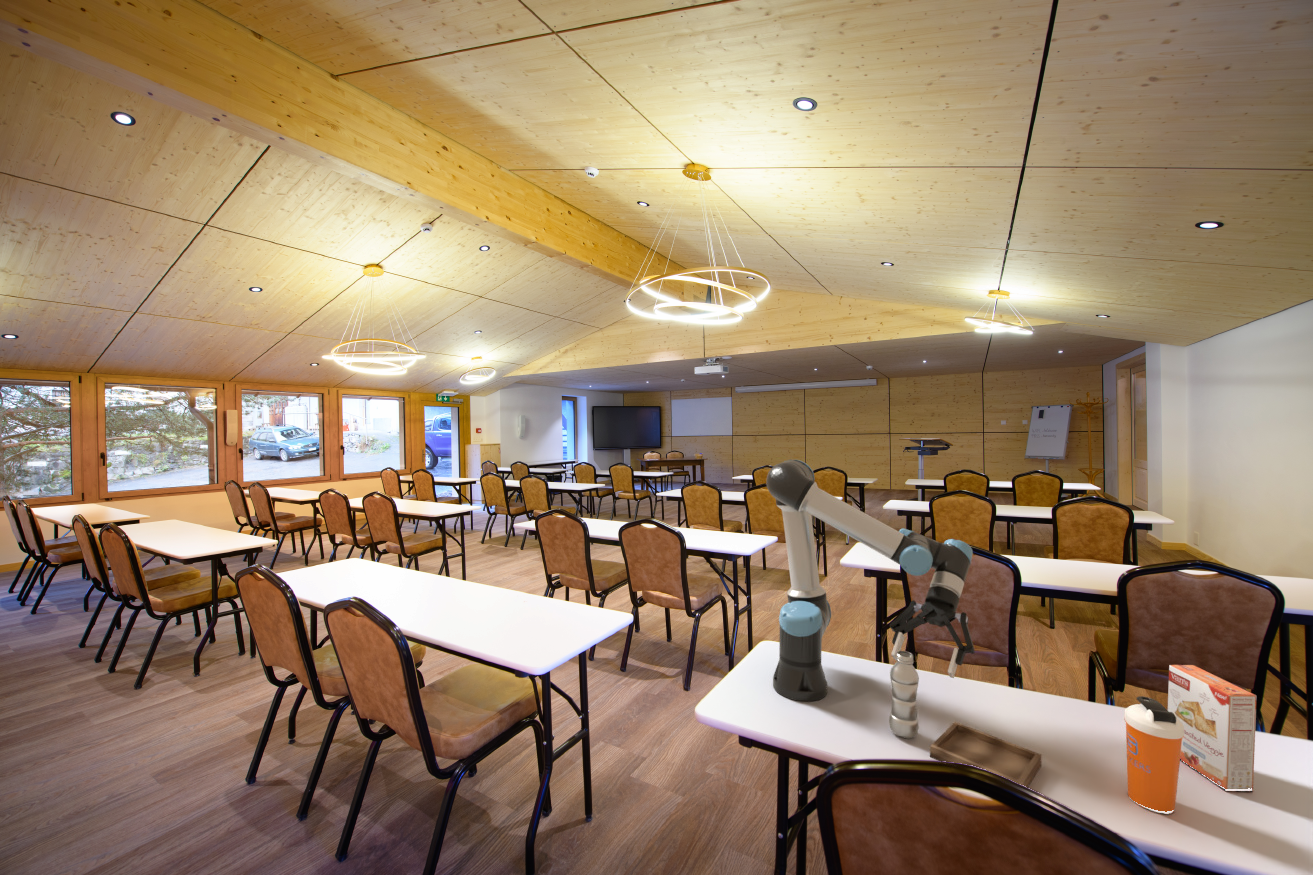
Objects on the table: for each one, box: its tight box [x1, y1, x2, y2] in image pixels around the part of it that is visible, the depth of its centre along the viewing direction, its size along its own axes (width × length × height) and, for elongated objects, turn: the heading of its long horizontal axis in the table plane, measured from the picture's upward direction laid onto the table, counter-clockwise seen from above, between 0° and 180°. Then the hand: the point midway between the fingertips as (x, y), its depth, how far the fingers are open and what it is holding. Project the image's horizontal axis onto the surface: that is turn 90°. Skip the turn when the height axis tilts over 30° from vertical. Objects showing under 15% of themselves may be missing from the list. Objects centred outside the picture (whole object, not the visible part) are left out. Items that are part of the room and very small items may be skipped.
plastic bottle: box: [888, 650, 920, 739], centre depth 134 cm, size 6×7×20 cm
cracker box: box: [1167, 664, 1257, 790], centre depth 120 cm, size 14×6×21 cm, turn 178°
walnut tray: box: [929, 721, 1042, 788], centre depth 124 cm, size 18×15×2 cm
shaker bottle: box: [1123, 695, 1184, 812], centre depth 110 cm, size 9×9×20 cm
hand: (921, 665), depth 137 cm, fingers open, 13 cm apart
